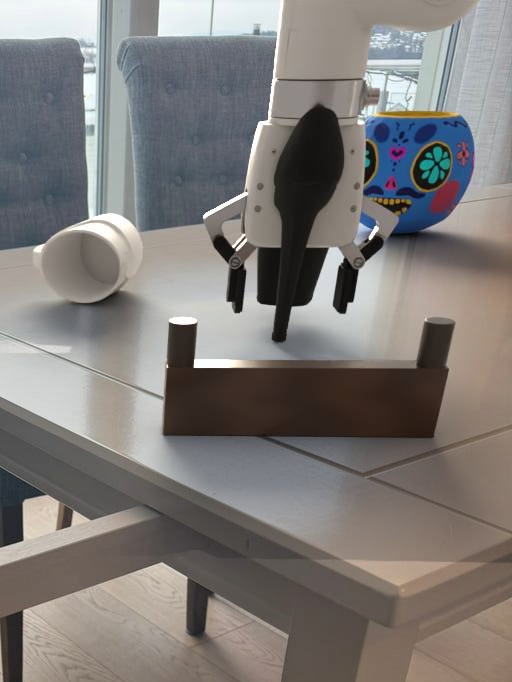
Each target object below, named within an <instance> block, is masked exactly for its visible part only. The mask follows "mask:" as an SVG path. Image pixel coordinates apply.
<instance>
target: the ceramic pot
mask: <svg viewBox="0 0 512 682" xmlns="http://www.w3.org/2000/svg"><path fill="white" fill-rule="evenodd" d="M363 122H364V123H365V131H366V155H365V172H364V186H363V195H365V196H366V197H368V198H370V199H371V200H373V201H375V202H376V203H378V204H380V205H381V206H383V207H385V208H386V209H388V210H389V211H391V212H393V213H394V214H396V215H397V216H398V217H399V221H398V224H397V225H396V226H395V228H394V229H393V231H392V232H391V234H394V235H395V234H398V235H399V234H401V235H402V234H413V233H416V232H417V233H418V232H421V231H424V230H427V229H428V228H430V227H433V226H435V225H437V224H439V223H441V222H443V221H445V220H446V219H448V217H449V216H450V215H451V214H452V213H453V211H454V210H455V209H456V208H457V206H458V205H459V203H460V202H461V200H462V199H463V197H464V195H465V194H466V192H467V189H468V188H469V185H470V182H471V181H472V178H473V175H474V170H475V158H476V157H475V153H476V151H475V142H474V141H475V140H474V136H473V133H472V130H471V127H470V125H469V123H468V122H467V120H466V119H465V118H464V116H463V115H462V114H460V113H458V112H457V113H456V112H450V111H438V110H396V111H395V110H394V111H392V110H391V111H382V112H381V111H380V112H375V113H373V114H371V115H370V116H369V117H368V118H367V119H365V121H363ZM359 224H361V225H363V226H364V227H366V228H367V229H370V230H372V231H373V230H374V228H375V226H376V220H374V219H372V218H371V217H369V216H367V215H366V214H364V213H362V212H361V215H360V222H359Z"/></svg>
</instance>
